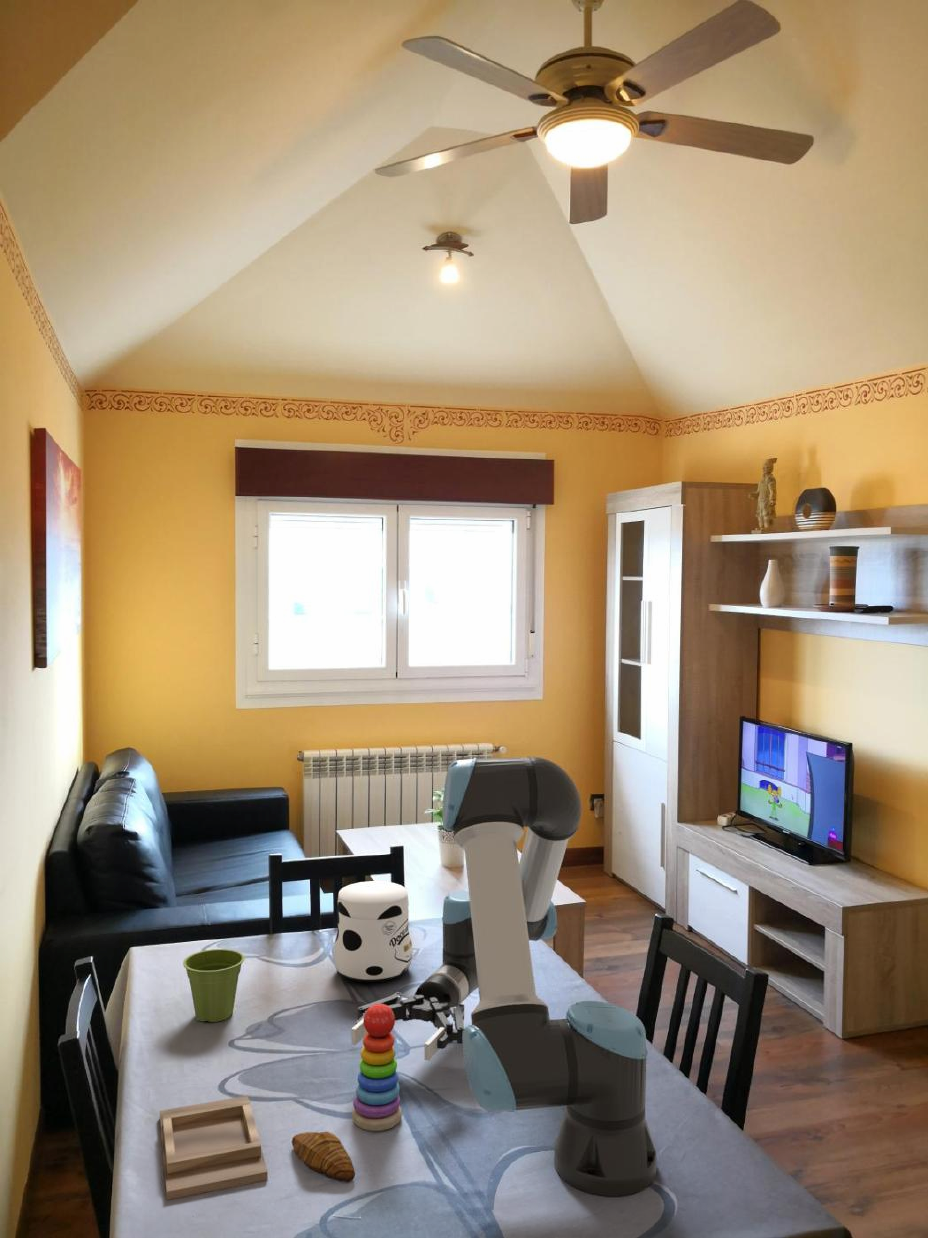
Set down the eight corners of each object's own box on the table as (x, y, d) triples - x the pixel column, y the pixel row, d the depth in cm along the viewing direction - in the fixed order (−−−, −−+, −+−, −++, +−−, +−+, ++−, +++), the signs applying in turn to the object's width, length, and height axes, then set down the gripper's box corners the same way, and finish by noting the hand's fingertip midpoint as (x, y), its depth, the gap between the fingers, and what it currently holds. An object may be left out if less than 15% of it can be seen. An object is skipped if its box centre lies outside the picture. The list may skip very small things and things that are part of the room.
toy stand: (267, 1180, 144) (267, 1162, 144) (167, 1200, 139) (166, 1181, 139) (247, 1102, 164) (247, 1087, 164) (159, 1118, 160) (159, 1102, 160)
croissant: (276, 1157, 150) (275, 1125, 149) (311, 1138, 155) (311, 1107, 154) (333, 1196, 140) (333, 1162, 140) (369, 1175, 145) (369, 1142, 145)
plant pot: (257, 1010, 199) (257, 955, 198) (214, 1034, 189) (214, 976, 188) (214, 997, 205) (213, 944, 204) (170, 1019, 195) (169, 963, 194)
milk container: (423, 981, 213) (423, 899, 212) (344, 994, 207) (344, 909, 206) (398, 952, 229) (398, 876, 228) (325, 963, 223) (324, 884, 222)
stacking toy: (394, 1136, 155) (394, 1019, 154) (345, 1130, 156) (345, 1014, 156) (407, 1109, 163) (407, 998, 162) (360, 1104, 164) (360, 993, 163)
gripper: (504, 1026, 179) (458, 1082, 160) (381, 1002, 189) (324, 1052, 169) (504, 985, 179) (458, 1036, 159) (381, 963, 188) (324, 1009, 169)
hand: (389, 1044), depth 164 cm, fingers open, 13 cm apart
